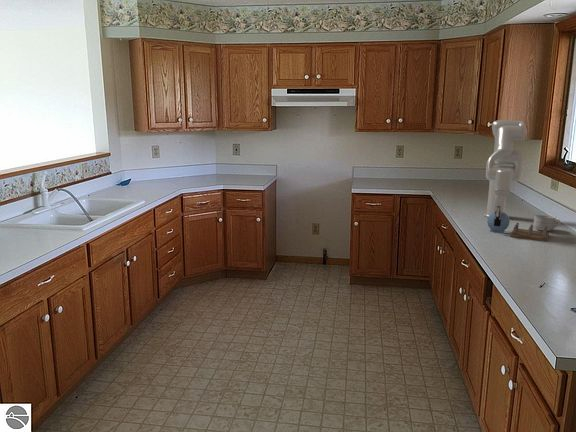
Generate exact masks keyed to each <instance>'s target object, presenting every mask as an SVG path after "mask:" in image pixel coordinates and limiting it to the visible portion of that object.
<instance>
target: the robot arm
mask: <svg viewBox="0 0 576 432" xmlns="http://www.w3.org/2000/svg"><path fill="white" fill-rule="evenodd" d="M491 129H492V134H493V137H494V147H493V153H491V155H490V156H489V157H488V158H487V161H486V166H485V178H486V180H488V182H489V186H488V194H487V195H488V196H487V205H486V206H487V207H486V212H484V213H483V217H486V218H488V217H489V216H490V214H492V213H495V212H496V214H495V219H494V226H499V227H500V224H501V214H503V213H505V210H506V203H507V197H509V196H510V191H511V190H510V188H511V183H517V182H519V180H520V179H521V176H522V175H521V173H522V165H523V151H522V150H521V149H520V148H517V147H516V148H515V147H514V142H523V141H524V140H525V138H526V134H527V128H526V124H525V122H524V120H519V119H518V120H514V119H513V120H511V119H498V120H494V121H493V122H492V125H491ZM493 162H494V163H495V164H500V165H493ZM501 164H502V165H501ZM492 165H493V166H492ZM510 165H511V166H510ZM499 215H500V216H499Z"/></svg>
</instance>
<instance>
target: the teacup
mask: <svg viewBox="0 0 576 432" xmlns="http://www.w3.org/2000/svg"><path fill="white" fill-rule="evenodd" d="M556 222H557V224H556ZM560 225H561V220H560V219H558V218H557V217H556V216H552V215H546V214H534V218H533V228H535V229H536V231H542V232H543V231H544V228H545V226H548V228H547V232H550V231H552V230H554V229H556V228H558V227H560Z"/></svg>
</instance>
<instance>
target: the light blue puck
mask: <svg viewBox="0 0 576 432" xmlns="http://www.w3.org/2000/svg"><path fill="white" fill-rule="evenodd" d="M495 214H496V212H495V213H492V214H490V216H489V217H487V221H486V222H487V226H488V228H489V229H490V230H489V232H490V233H497V232H498V233H499V234H505V232H506V229H507V228H509V226H510V223H511V221H510V220H511V219H510V217H509V215H508V214H507V213H506V212H504V213H503V214H501V224H500V227H499V226H494V219H495ZM499 216H500V215H499Z"/></svg>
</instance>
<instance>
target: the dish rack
mask: <svg viewBox="0 0 576 432" xmlns="http://www.w3.org/2000/svg"><path fill="white" fill-rule="evenodd" d="M519 225H520V223H519V222H516V224H515V225H514V226H513V229H512V231H511V233H510V238H517V239H523V240H524V239H525V240H531V241H539V242H547V241H548V238H549V236H550V235H549V234H550V231H547V228H548V226H545V228H544V231H541V230H534V229H533V228H534V224H530V226H529V228H528V229H526V228H525V229H524V228H519Z"/></svg>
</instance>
